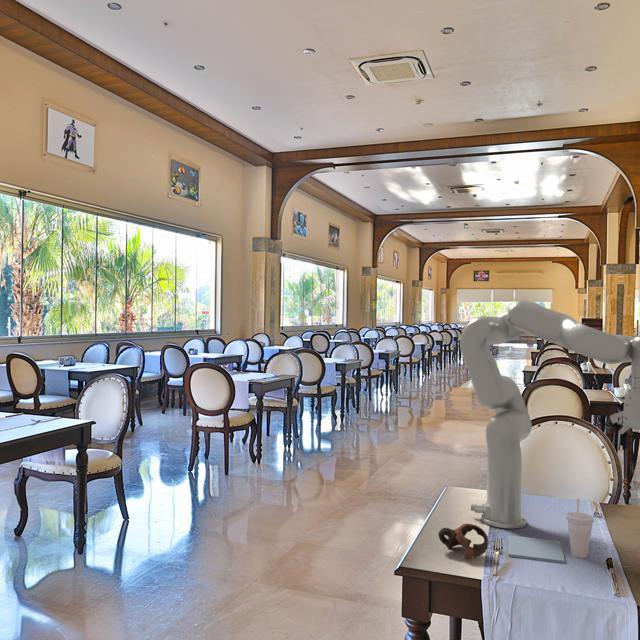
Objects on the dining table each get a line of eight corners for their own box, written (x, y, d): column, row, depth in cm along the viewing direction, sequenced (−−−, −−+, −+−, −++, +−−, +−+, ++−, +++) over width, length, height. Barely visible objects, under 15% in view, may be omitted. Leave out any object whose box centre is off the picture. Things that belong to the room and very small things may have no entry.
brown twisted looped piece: (479, 548, 156) (490, 525, 153) (480, 577, 148) (492, 554, 144) (433, 534, 157) (443, 511, 153) (433, 562, 149) (443, 539, 145)
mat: (508, 556, 150) (508, 553, 150) (507, 537, 163) (507, 535, 163) (565, 563, 146) (565, 560, 146) (559, 543, 159) (559, 541, 159)
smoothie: (560, 550, 154) (561, 495, 154) (585, 550, 155) (586, 495, 155) (573, 560, 148) (574, 502, 148) (598, 559, 148) (599, 502, 149)
